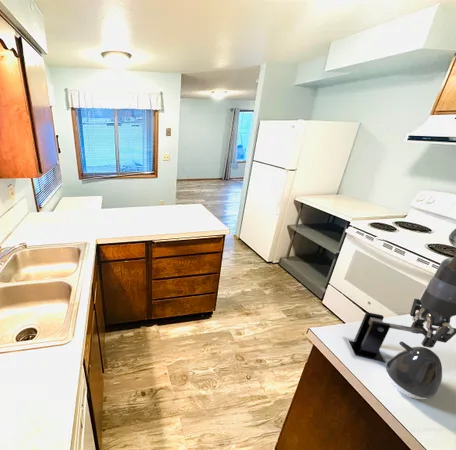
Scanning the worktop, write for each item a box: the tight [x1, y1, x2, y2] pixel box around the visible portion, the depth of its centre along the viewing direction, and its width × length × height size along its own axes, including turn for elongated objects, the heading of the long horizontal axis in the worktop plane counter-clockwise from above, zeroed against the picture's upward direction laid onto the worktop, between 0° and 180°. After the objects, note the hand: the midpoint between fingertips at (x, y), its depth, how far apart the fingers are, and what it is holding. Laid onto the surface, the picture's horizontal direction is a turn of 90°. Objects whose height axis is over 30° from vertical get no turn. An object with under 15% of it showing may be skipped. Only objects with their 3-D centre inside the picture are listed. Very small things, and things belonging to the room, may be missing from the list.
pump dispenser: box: [385, 341, 443, 400], centre depth 66 cm, size 10×10×15 cm
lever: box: [368, 317, 428, 337], centre depth 75 cm, size 14×5×2 cm, turn 71°
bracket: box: [348, 311, 391, 364], centre depth 78 cm, size 8×8×14 cm
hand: (420, 338), depth 74 cm, fingers closed on lever, 5 cm apart
